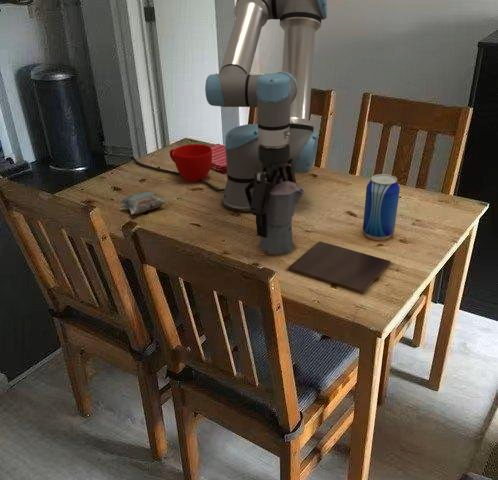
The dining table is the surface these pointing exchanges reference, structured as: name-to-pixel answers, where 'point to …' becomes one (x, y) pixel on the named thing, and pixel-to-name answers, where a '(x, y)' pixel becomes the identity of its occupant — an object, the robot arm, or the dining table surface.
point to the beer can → (381, 207)
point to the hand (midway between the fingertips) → (274, 227)
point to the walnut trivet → (340, 266)
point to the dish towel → (219, 158)
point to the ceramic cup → (192, 161)
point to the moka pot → (279, 216)
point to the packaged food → (142, 202)
